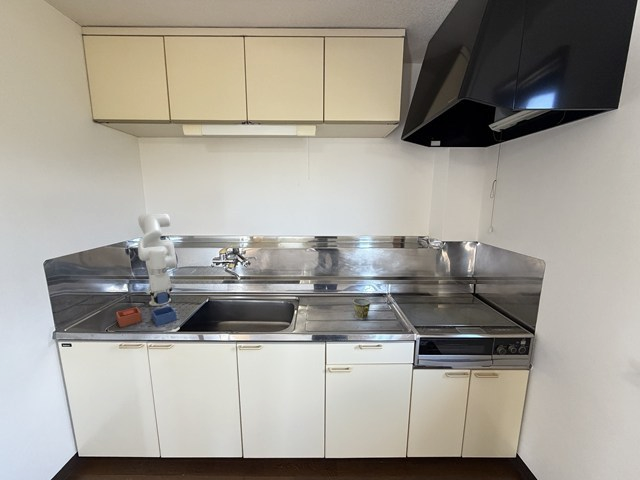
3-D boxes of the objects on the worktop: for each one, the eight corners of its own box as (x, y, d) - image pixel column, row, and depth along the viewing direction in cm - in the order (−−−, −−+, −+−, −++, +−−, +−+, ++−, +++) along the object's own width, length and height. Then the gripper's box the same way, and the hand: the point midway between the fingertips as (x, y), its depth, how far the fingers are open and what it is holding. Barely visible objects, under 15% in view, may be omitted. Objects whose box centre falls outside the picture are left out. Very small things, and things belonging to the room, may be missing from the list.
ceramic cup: (349, 315, 163) (350, 299, 161) (364, 312, 166) (364, 297, 165) (360, 324, 151) (361, 308, 149) (376, 321, 154) (376, 305, 153)
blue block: (156, 301, 155) (155, 293, 154) (166, 299, 158) (165, 291, 158) (158, 304, 151) (157, 295, 151) (168, 302, 155) (167, 293, 154)
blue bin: (152, 319, 157) (151, 310, 156) (171, 314, 164) (170, 305, 163) (156, 325, 150) (155, 316, 149) (176, 320, 157) (175, 311, 156)
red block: (123, 320, 156) (122, 312, 155) (133, 317, 159) (132, 309, 158) (125, 323, 152) (123, 315, 151) (135, 320, 155) (134, 312, 154)
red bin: (117, 321, 156) (116, 312, 155) (138, 315, 163) (137, 306, 162) (120, 327, 148) (118, 318, 147) (141, 321, 155) (140, 312, 154)
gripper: (173, 266, 160) (176, 295, 163) (139, 272, 149) (143, 303, 152) (177, 269, 155) (180, 299, 158) (142, 275, 143) (146, 307, 146)
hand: (162, 301), depth 155 cm, fingers closed on blue block, 5 cm apart
